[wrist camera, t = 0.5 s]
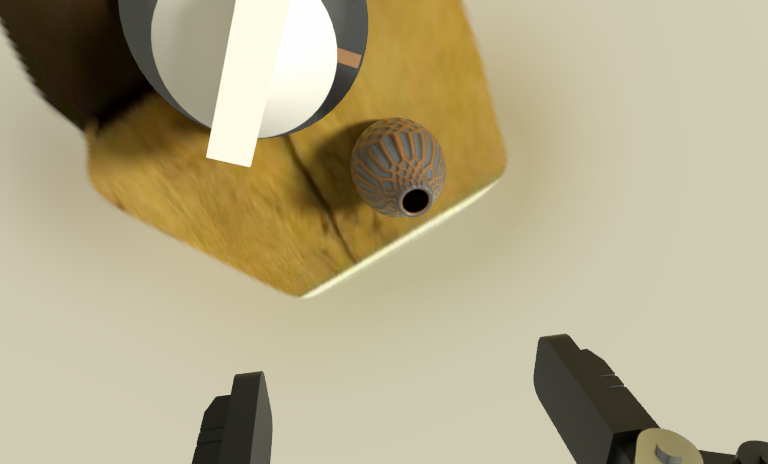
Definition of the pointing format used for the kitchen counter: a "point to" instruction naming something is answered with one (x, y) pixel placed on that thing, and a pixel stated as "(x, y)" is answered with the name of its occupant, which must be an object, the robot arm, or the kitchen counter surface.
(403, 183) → the vase
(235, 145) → the white rotary knob
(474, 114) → the kitchen counter surface
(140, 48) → the grey disc with tab
